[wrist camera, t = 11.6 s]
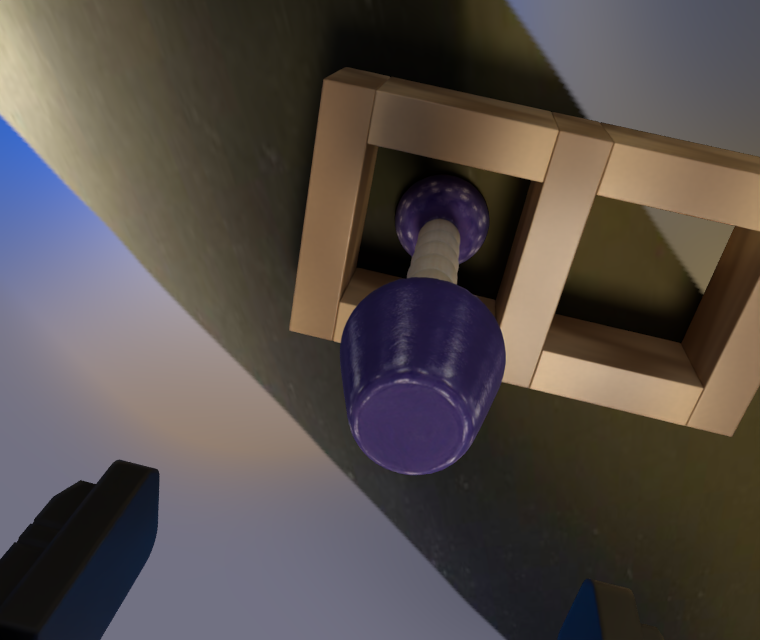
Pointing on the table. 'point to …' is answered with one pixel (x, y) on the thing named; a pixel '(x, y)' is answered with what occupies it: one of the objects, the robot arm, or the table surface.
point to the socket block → (546, 241)
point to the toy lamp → (424, 339)
